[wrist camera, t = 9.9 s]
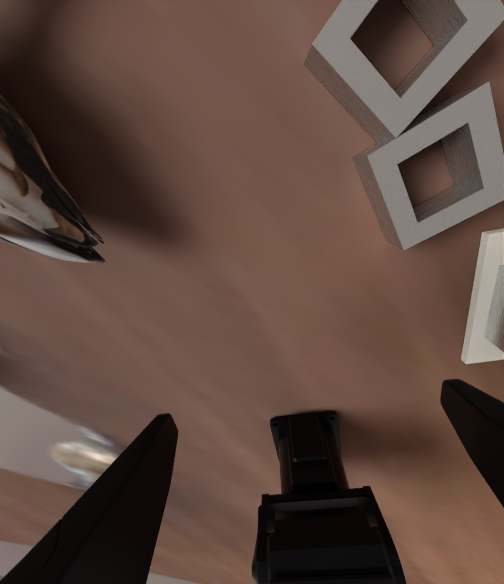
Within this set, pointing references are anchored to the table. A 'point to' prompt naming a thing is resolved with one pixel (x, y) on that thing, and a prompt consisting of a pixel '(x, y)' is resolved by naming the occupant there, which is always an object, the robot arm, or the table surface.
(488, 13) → the grey square frame
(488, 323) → the end link
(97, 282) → the table surface
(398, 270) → the table surface
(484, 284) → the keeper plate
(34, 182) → the decorative duck model
